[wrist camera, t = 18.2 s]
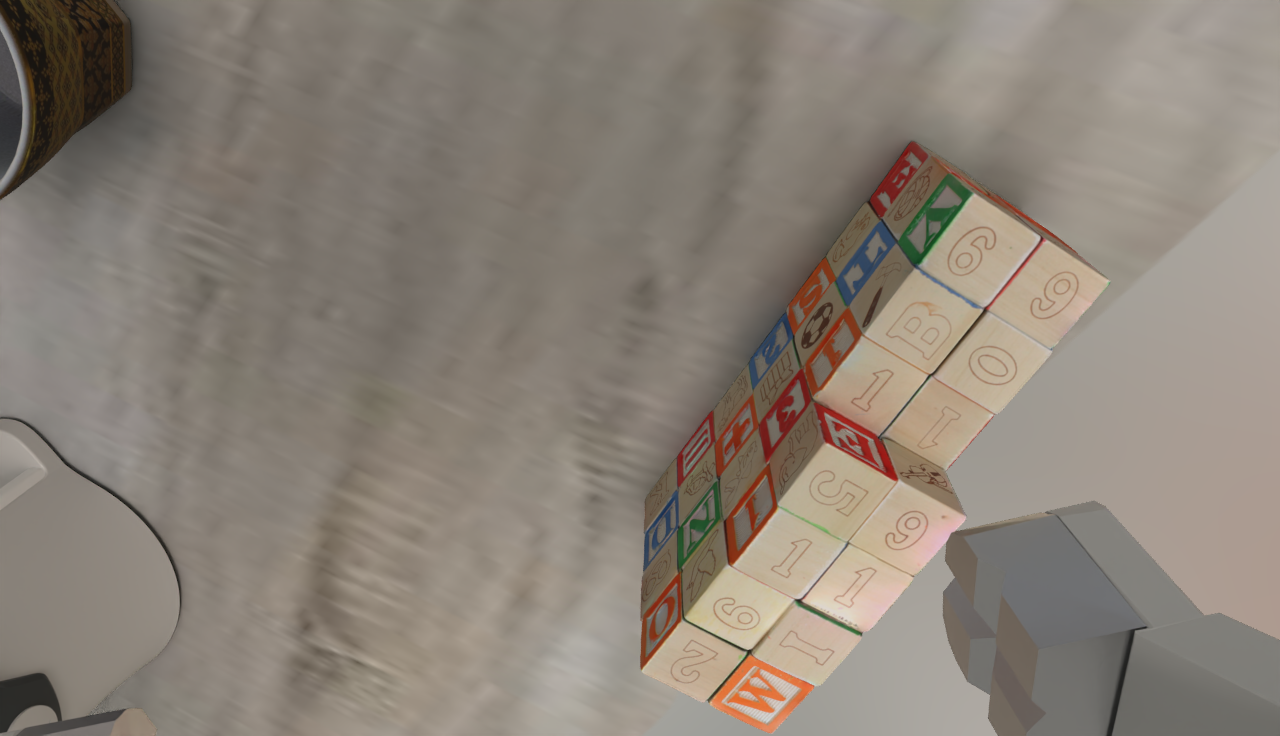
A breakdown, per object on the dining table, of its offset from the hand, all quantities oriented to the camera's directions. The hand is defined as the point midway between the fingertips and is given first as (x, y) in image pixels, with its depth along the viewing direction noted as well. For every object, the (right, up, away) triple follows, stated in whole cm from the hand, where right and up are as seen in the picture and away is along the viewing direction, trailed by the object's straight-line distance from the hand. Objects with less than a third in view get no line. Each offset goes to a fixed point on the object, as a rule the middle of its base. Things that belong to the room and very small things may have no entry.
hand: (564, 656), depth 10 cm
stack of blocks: (+9, +3, +34) cm, 36 cm away
